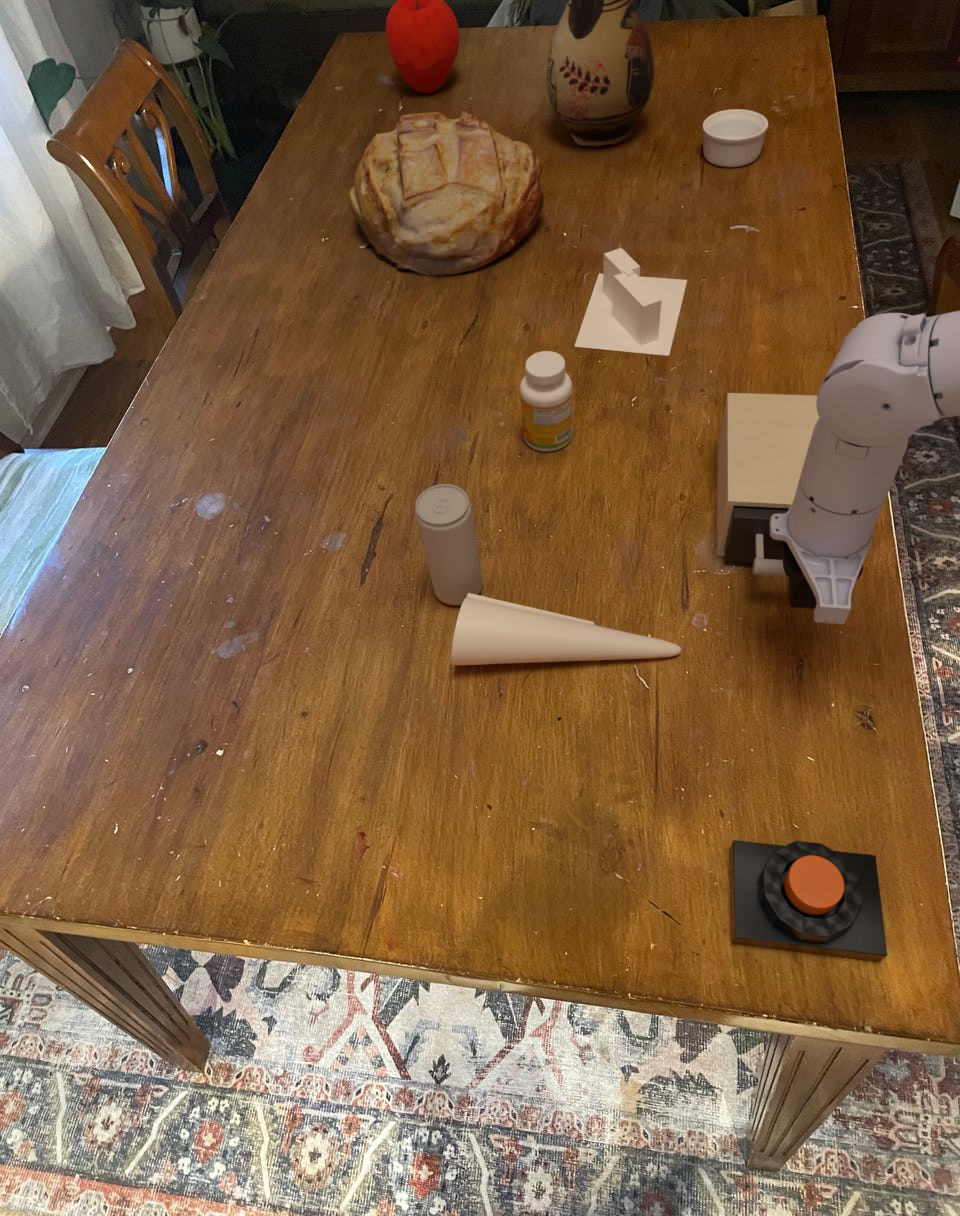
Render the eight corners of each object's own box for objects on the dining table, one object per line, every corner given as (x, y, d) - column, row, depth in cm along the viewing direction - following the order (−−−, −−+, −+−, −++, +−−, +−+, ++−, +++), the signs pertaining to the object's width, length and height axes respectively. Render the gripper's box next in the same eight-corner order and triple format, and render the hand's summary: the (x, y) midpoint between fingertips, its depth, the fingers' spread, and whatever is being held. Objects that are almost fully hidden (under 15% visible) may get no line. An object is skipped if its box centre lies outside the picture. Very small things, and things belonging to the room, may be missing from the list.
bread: (406, 177, 130) (380, 71, 118) (573, 187, 120) (562, 71, 108) (324, 270, 118) (286, 162, 106) (501, 290, 108) (480, 173, 96)
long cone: (669, 721, 73) (450, 678, 75) (674, 663, 77) (466, 623, 79) (683, 683, 68) (450, 638, 71) (688, 623, 72) (467, 582, 75)
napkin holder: (670, 356, 98) (675, 313, 93) (573, 347, 100) (573, 305, 96) (687, 279, 106) (692, 236, 101) (597, 273, 109) (597, 231, 104)
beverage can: (490, 574, 82) (478, 488, 72) (473, 613, 79) (458, 529, 70) (444, 564, 83) (425, 478, 73) (426, 602, 81) (404, 519, 71)
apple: (477, 77, 145) (468, -15, 134) (440, 108, 139) (427, 15, 128) (419, 68, 149) (406, -22, 138) (381, 98, 144) (365, 7, 133)
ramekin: (687, 160, 122) (690, 129, 119) (720, 133, 126) (724, 102, 122) (742, 176, 118) (747, 145, 115) (774, 148, 122) (780, 117, 118)
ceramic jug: (592, 99, 136) (594, -143, 112) (670, 124, 129) (691, -128, 104) (520, 144, 130) (506, -102, 105) (598, 173, 123) (602, -83, 98)
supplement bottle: (526, 418, 94) (521, 345, 86) (574, 419, 93) (574, 346, 85) (520, 452, 91) (515, 380, 83) (571, 454, 90) (570, 381, 82)
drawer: (840, 605, 75) (859, 562, 70) (724, 597, 77) (733, 554, 72) (827, 463, 85) (842, 417, 80) (724, 459, 87) (732, 413, 82)
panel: (869, 862, 63) (882, 846, 60) (880, 962, 59) (895, 949, 56) (729, 847, 64) (736, 830, 61) (731, 943, 60) (738, 930, 58)
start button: (835, 866, 60) (842, 858, 58) (840, 918, 58) (846, 911, 56) (782, 860, 60) (787, 852, 59) (785, 912, 58) (790, 904, 57)
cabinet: (841, 563, 78) (863, 507, 72) (716, 556, 80) (727, 500, 74) (830, 455, 86) (849, 396, 80) (717, 450, 88) (727, 392, 82)
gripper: (778, 410, 63) (750, 530, 74) (786, 563, 55) (752, 672, 65) (880, 413, 61) (836, 535, 72) (903, 570, 53) (849, 681, 64)
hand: (802, 601), depth 69 cm, fingers closed
